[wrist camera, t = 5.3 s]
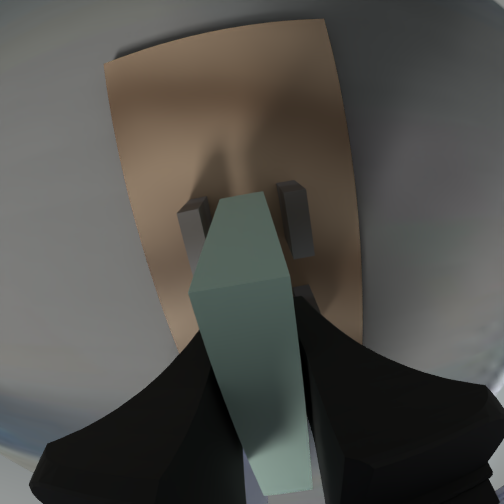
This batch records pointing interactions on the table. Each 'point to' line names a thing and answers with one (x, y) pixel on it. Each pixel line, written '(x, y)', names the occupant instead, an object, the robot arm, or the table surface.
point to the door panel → (254, 340)
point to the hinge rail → (241, 158)
